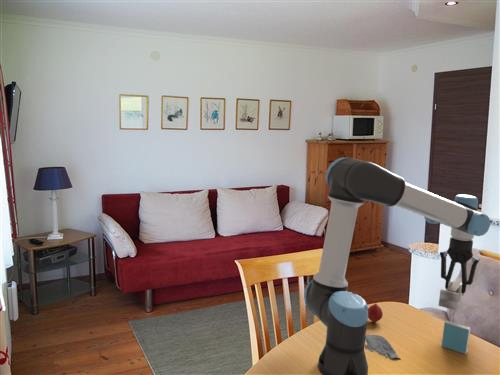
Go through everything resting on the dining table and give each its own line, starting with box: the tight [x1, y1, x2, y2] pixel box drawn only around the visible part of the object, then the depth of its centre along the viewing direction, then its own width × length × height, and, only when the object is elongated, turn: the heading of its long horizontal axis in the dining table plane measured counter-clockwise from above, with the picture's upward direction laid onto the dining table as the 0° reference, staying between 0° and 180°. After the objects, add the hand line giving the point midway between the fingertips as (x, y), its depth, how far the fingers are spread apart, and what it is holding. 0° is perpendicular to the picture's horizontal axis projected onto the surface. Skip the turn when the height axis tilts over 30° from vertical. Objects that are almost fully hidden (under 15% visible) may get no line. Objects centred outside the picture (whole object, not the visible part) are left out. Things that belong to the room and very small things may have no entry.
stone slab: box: [364, 333, 400, 360], centre depth 155 cm, size 18×2×10 cm
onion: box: [368, 303, 384, 324], centre depth 171 cm, size 6×6×8 cm
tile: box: [441, 320, 471, 355], centre depth 154 cm, size 8×2×9 cm, turn 52°
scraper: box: [438, 276, 465, 311], centre depth 164 cm, size 6×18×6 cm, turn 142°
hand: (454, 299), depth 165 cm, fingers closed on scraper, 3 cm apart
